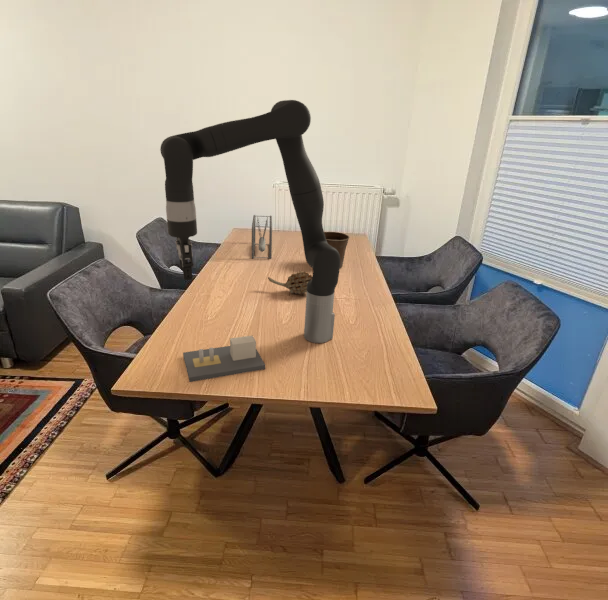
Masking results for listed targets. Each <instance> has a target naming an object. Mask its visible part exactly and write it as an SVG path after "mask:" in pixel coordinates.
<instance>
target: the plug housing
mask: <svg viewBox="0 0 608 600" xmlns="http://www.w3.org/2000/svg"><path fill="white" fill-rule="evenodd" d="M229 346H230V355H231V357H232V359H233V361H235V360H241V359H248V358H254V357H256V349H257V341H256V339H255V336H254V335H252V334H251V335H245V336H239V337H231V338H229Z"/></svg>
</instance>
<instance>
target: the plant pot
mask: <svg viewBox="0 0 608 600" xmlns="http://www.w3.org/2000/svg"><path fill="white" fill-rule="evenodd" d="M324 234H325V237H326V240H327V243H328V244H329V245H330V246H332V247H334V248H335V249H336V250H337V251H338V252H339V254H340V269H341V268H343V265H344V259H345V254H346V250H347V246H348V242H349V240H350V236H349V235H348V234H346V233H344V232H340V231H339V232H337V231H324Z"/></svg>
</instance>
